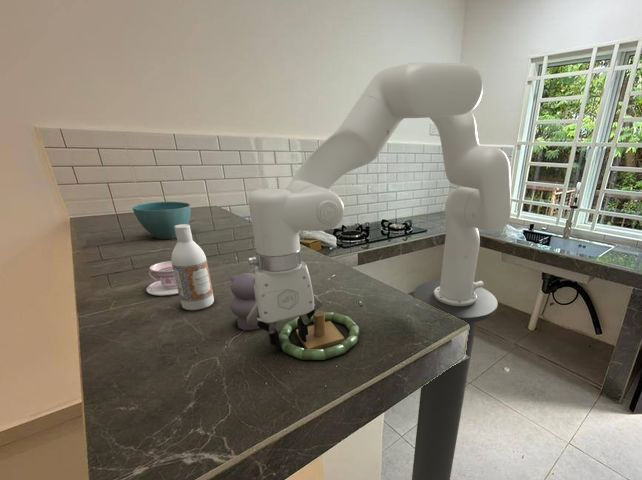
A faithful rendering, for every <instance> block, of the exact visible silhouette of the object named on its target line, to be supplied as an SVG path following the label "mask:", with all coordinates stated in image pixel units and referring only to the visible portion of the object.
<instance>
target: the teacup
mask: <svg viewBox="0 0 642 480" xmlns="http://www.w3.org/2000/svg"><path fill="white" fill-rule="evenodd" d="M146 272H147V273H148V276H149V277H150V278H151V279H153V280H154V282H152V283H150V284H149V285H148V286H146V289H145V291H146V293H147V294H149V295H151V296H160V297H163V296H174V295H179V293H178V288H177V284H176V280H175V275H174V271H173V267H172V261H171V260H167V261H162V262H158V263H155V264H153V265H152V264H151V266H149V269H148V270H146ZM152 273H154V274H156V276H157V277H158V278H159V279H158V278H156V277H155V276H153V274H152Z"/></svg>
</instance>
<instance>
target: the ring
mask: <svg viewBox="0 0 642 480" xmlns="http://www.w3.org/2000/svg"><path fill="white" fill-rule="evenodd" d="M323 312H324V313H325V322H328V321H331V322H334V323H337V324H339V325H343V326H345V327H346V328H347V330H348V331H349V332H348V333H349V334H348V337H347V338H345V340H344V341H343V342H342V343H339V344H336V345H332V346H329V347H325V348H322V349H305V348H303V347H301V346H298V345H295V344H293V342H292V341H291V340H290V336H291V334H292V332H293V331H294V330H297V329H298V325H297V320H298V319H299V316H296V317H294V319H293V318H292V320H290V321H288V322H286V323H285V324H283V326H282V328H281V330H280V332H279V333H278V334H279V342H280V349H282V351H283V353H285V354H287V355H289V356H291V357H294V358H297V359H299V360H302V361H304V360H305V361H307V360H308V361H325V360H328V359H331V358H332V359H333V358H335V357H338V356H341V355H343V354H346V353H347V352H348V351H349V350H350V349H351V348H353V347H354V346H355V345H356V344H357V343H358V341H359V336H360V335H359V334H360V327H359V325H357V323H356V322H354V320H353V319H352V318H351V317H349V316H346V315H343V314H340V313H338V312H329V311H328V312H327V311H326V312H325V311H323ZM310 323H313V316H312V317H311V318H310V320H309V323H308V324H310Z"/></svg>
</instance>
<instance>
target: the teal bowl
mask: <svg viewBox="0 0 642 480" xmlns="http://www.w3.org/2000/svg"><path fill="white" fill-rule="evenodd" d="M132 212H133V213H134V215H135V217H136V219H137V221H138V222H139V224H140V225H141V226H142V227H143V229H144V230H146V231H147V232H148V233H149V234H151V236H153V237H155V238H156V239H159V240H171V239H177V237H176V232H175V226H176V225H180V224H187V225H190V221H191V215H192V207H191V204H190V203H188V202H181V201H156V202H147V203H146V202H145V203H140V204H136V205H133V206H132Z"/></svg>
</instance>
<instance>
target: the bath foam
mask: <svg viewBox="0 0 642 480" xmlns="http://www.w3.org/2000/svg"><path fill="white" fill-rule="evenodd" d="M175 232H176V237H177V238H176V241H177V242H176V243H175V246H174V247H173V250H172V252H171V259H170V261H172V267H173V271H174V275H175V280H176V284H177V288H178V293H179V294H178V296H179V301H180V304H181V307H182V309H184V310H187V311H199V310H203V309H206V308H209V307H211V305H213V304H214V302H215V297H214V291H213V287H212V281H211V276H210V269H209V265H208V260H207V257H206V254H205V252H204V250H203V249H202V248H201V246H200V245H199V244H197V243H196V242H195V241H194V240H193V234H192V230H191V226H190V224H188V225H187V224H180V225H176V226H175Z"/></svg>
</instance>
